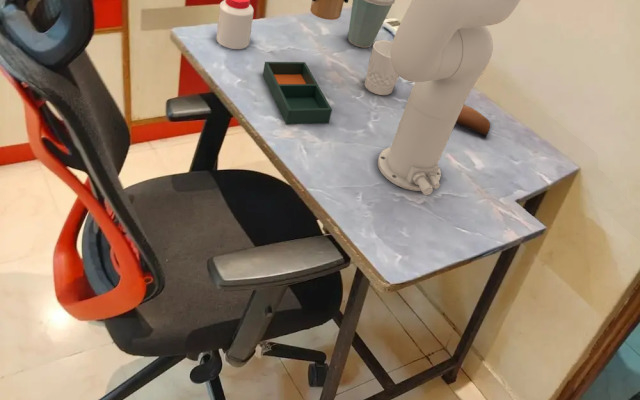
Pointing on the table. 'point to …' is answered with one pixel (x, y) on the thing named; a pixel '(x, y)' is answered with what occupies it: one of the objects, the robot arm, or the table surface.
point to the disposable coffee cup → (367, 20)
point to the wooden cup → (327, 9)
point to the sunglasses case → (473, 120)
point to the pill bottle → (234, 23)
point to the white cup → (381, 69)
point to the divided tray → (296, 93)
